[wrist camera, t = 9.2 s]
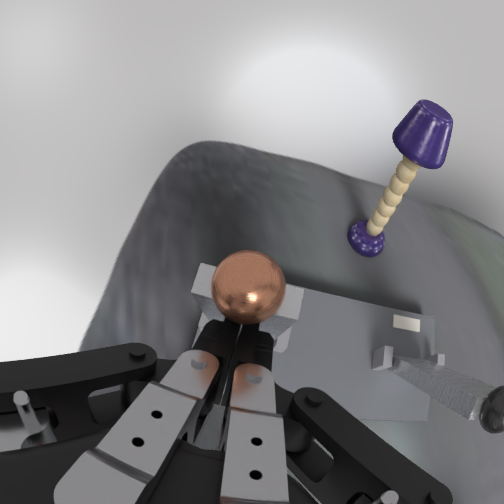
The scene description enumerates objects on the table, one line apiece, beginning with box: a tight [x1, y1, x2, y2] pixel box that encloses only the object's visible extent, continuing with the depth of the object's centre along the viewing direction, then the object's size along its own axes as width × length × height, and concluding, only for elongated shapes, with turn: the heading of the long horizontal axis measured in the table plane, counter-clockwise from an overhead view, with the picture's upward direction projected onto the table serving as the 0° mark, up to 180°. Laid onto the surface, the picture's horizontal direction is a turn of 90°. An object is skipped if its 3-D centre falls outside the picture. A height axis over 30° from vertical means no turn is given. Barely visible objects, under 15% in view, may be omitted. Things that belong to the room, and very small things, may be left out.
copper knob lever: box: [191, 250, 304, 341], centre depth 15 cm, size 3×4×13 cm, turn 76°
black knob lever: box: [388, 355, 504, 433], centre depth 13 cm, size 3×4×13 cm, turn 76°
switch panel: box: [192, 283, 445, 421], centre depth 21 cm, size 10×21×4 cm, turn 76°
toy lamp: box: [348, 100, 453, 257], centre depth 22 cm, size 5×5×17 cm
